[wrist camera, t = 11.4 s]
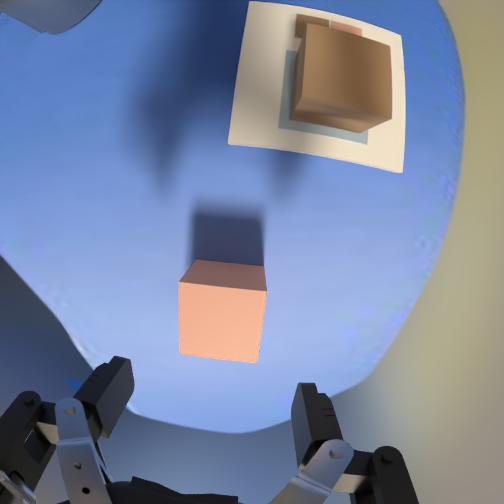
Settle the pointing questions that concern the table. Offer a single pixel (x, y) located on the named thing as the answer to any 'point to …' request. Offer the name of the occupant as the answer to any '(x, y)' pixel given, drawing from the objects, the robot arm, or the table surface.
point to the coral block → (222, 310)
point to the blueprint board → (281, 83)
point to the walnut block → (341, 80)
